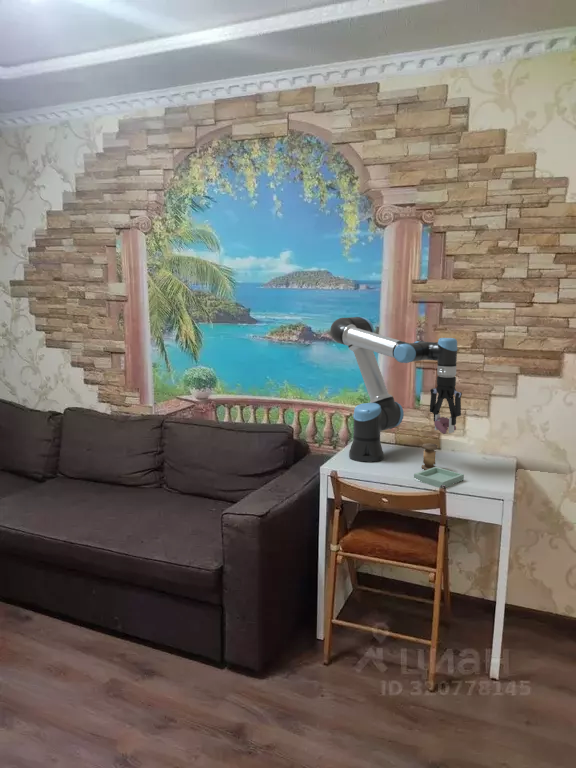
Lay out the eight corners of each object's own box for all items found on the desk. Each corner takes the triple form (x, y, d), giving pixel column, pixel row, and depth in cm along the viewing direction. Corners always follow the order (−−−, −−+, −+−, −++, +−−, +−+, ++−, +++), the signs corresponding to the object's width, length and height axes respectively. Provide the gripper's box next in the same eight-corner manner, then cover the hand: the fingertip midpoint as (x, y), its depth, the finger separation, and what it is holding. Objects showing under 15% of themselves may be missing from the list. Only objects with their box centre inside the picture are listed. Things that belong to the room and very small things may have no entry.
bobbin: (418, 468, 237) (419, 445, 236) (427, 465, 241) (428, 442, 240) (430, 472, 233) (431, 448, 231) (439, 469, 237) (440, 445, 235)
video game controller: (448, 432, 244) (442, 417, 245) (457, 429, 241) (451, 413, 242) (436, 436, 237) (430, 420, 238) (446, 433, 233) (439, 417, 235)
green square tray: (413, 479, 223) (414, 473, 223) (435, 472, 232) (435, 466, 232) (442, 488, 214) (442, 482, 213) (463, 480, 223) (463, 474, 222)
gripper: (421, 374, 240) (419, 428, 243) (462, 379, 226) (459, 436, 229) (432, 372, 245) (430, 425, 248) (472, 377, 231) (469, 433, 234)
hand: (444, 430), depth 239 cm, fingers closed on video game controller, 6 cm apart
